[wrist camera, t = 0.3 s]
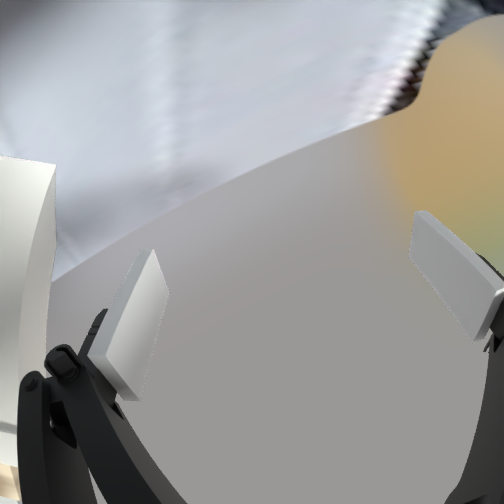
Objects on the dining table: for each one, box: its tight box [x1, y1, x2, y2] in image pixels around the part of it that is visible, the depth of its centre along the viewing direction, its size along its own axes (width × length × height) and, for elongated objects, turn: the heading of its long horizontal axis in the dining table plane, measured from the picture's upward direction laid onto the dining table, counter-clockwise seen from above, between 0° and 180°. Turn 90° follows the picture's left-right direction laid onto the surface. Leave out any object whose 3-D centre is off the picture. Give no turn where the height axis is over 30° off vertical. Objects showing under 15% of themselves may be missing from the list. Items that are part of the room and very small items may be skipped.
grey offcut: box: [0, 496, 22, 504], centre depth 8 cm, size 5×4×3 cm
